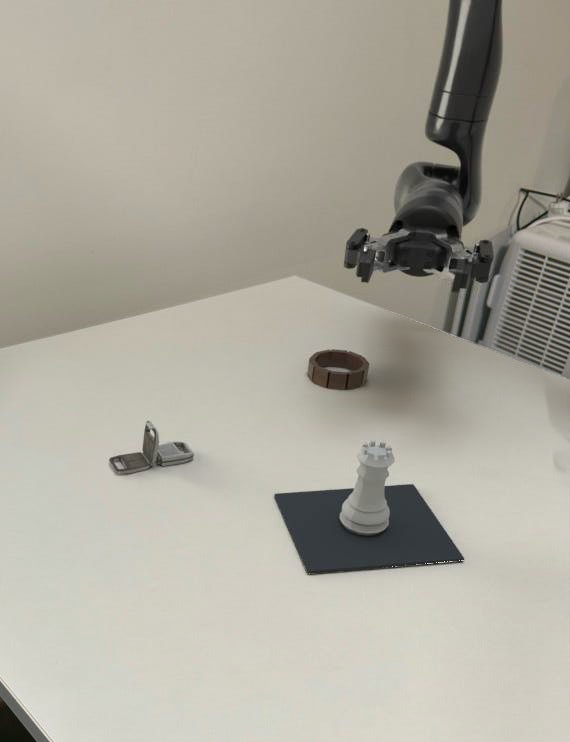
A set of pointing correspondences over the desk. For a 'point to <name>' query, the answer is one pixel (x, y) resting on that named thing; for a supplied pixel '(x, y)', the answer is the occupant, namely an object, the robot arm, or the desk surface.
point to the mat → (356, 552)
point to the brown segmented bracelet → (335, 377)
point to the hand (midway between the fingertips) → (411, 277)
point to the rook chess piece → (369, 491)
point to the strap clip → (153, 453)
